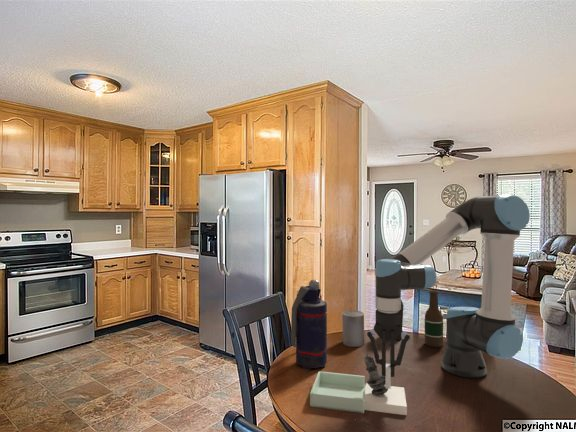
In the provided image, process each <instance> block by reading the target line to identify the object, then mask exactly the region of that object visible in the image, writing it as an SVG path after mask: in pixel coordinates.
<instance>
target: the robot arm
mask: <svg viewBox="0 0 576 432" xmlns="http://www.w3.org/2000/svg"><path fill="white" fill-rule="evenodd" d="M530 216H531V215H530V209H529V206H528V205H527V203H526V202H525V201H524V199H523V198H521V197H519V196H517V195H515V194H496V195H485V196H484V195H481V196H476V197H475V196H474V197H472V198H470V199H468V200H465V201H463V202H461V204H459V205H458V206H456V207H454V208H453V209H451V210H450V211H449V212H447V213H446V215H445V218H444V219H443V220H442V221H440V222H439V223H438V224H436V225H435V226H433V227H432V228H431V229H429V230H428V231H426V233H424V234H423V235H421V236H420V237H419V238H417V239H415V241H413V242H412V243H410V244H409V245H408V246H407V247H406V248H404V249H403V250H401V251H400V252H398V253H397V254H396V255H395V256H393V257H392V258H382V259H378V260H377V261H376V263H375V271H374V272H375V273H374V276H375V324H374V326H373V328H372V329H368V330H367V331H366V336H367V337H368V338H369V340H370V343H371V348H372V351H373V356H374V357H373V358H374V362H375V364H376V365H380V366H381V375H382V376H385V385H386V388H387V389H391V386H392V385H391V382H392V380H391V378H395V371H396V370H395V369H396V366H401V365H402V361H403V357H404V353H405V349H406V345H407V343H408V342H409V340H410V338H411V336H410V333H409V332H405V331H404V330H403V326H402V327H401V312H400V311H399V310H401V300H402V291H409V290H425V289H426V290H427V289H430V288H433V287H434V286H435V285H436V282H437V272H436V270H435V268H434V267H433V266H431V265H430V264H423V263H424V262H425V261H427V260H428V259H430V258H431V257H433V255H435V254H436V253H437V252H439V251H440V250H441V249H443V248H444V247H445V246H447V245H448V244H449V243H451V242H452V241H454V239H456V238H457V237H459V236H460V235H462V236H463V235H466V234H467V233H468V232H470V231H472V230H476V229H480V235H481V236H482V237H483V238H484V251H483V266H482V267H483V270H482V288H481V303H480V304H481V305H480V308H479V307H473V306H454V307H453V306H451V307H450V308H448V309H447V310H446V316H445V319H446V322H445V324H446V346H445V350H444V352H443V354H442V355H443V356H442V358H441V368H442V369H443V370H444V371H446V372H447V373H449V374H453V375H454V376H455V375H456V376H458V377H463V378H473V379H474V378H475V379H478V378H483V377H485V376H486V375H487V364H486V362H485V358H484V356H483V353H486V354H488V355H489V356H491V357H493V358H494V357H495V358H498V359H501V360H508V359H511V358H513V357H515V356H516V355H517V354H518V353H519V352H520V350H521V348H522V346H523V342H524V335H523V334H524V333H523V332H522V330H521V329H520V328H519V327H518V326H516V317H515V316H514V315H513V314H512V312H511V302H512V285H513V271H514V270H513V269H514V268H513V266H514V265H513V264H514V248H515V240H516V239H518V238H519V237H520V236H521V230H524V229H526V227H527V225H528V224H529V221H530ZM400 334H402V335H401V338H402V339H401V340H400V344H399V348H398V353H397V355H395V354H396V353H395V350H396V349H395V344H396V341H395V340H396V339H397V338H398V337H399V336H400ZM376 335H377V336H378V337H379V339H380V340H381V358H380V356H379V355H380V354H379V350H378V347H377V343H376V342H377V341H376V338H375V336H376ZM387 341H389V343H390V344H389V355H390V356H389V363H387ZM482 352H483V353H482ZM395 357H396V359H395Z"/></svg>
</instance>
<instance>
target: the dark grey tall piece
mask: <svg viewBox="0 0 576 432" xmlns="http://www.w3.org/2000/svg"><path fill="white" fill-rule="evenodd" d="M364 364H365V366H366V369H365V370H366V371H367V372H368V375H369V376H368V377H369V378H368V379H367V380H366V383H367V384H369V386H370V387H371V388H372V389H373V390H372V394H373V395H382V394H384V393H386V392H387V391H388V389H387V388H386V386H384V385H386V376H382V374H380V373H379V370H378V364H376V361H375V358H374V357H373V356H372V355H369V354H368V353H366V355H365V357H364Z"/></svg>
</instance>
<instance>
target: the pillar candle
mask: <svg viewBox="0 0 576 432" xmlns="http://www.w3.org/2000/svg"><path fill="white" fill-rule="evenodd" d="M342 344H343V345H344V346H346V347H350V348H351V347H352V348H353V347H354V348H355V347H357V348H358V347H359V348H360V347H363V346H364V345H365V314H364V312H363V311H360V310H353V309H352V310H350V309H349V310H345V311H342Z"/></svg>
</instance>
